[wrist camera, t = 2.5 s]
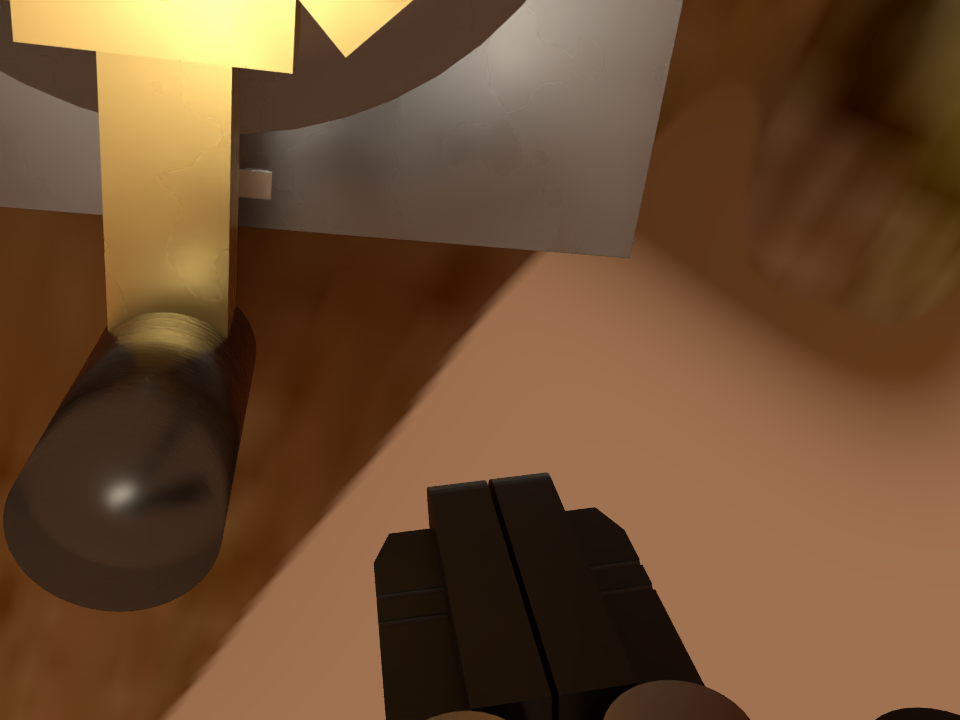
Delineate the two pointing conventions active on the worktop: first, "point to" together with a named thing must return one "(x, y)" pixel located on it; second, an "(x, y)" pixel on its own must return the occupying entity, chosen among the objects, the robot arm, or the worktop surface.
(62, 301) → the worktop surface
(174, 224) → the gold notched piece
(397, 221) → the bearing housing
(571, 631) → the robot arm
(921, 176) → the worktop surface
